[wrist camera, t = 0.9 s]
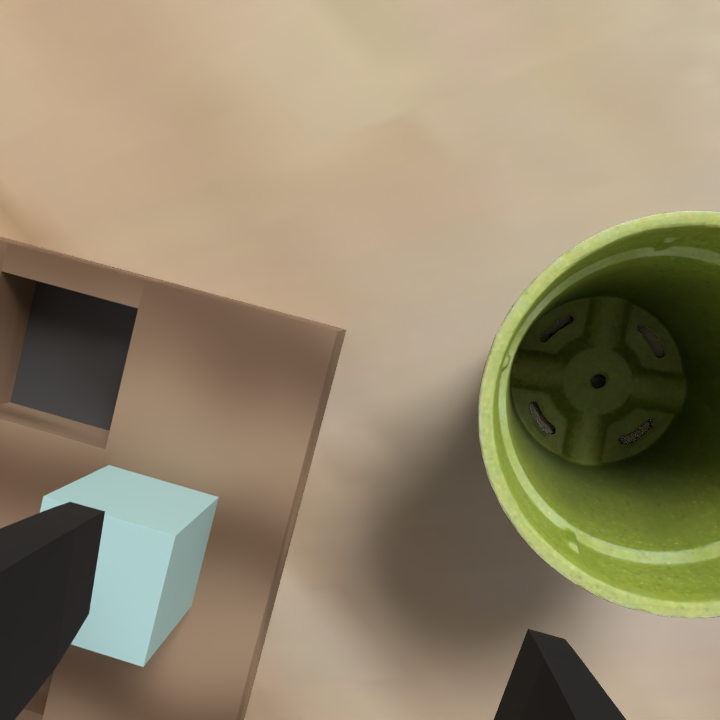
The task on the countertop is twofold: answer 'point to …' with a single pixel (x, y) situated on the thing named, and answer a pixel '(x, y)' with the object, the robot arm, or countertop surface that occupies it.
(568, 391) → the plant pot
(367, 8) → the countertop surface
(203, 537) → the block
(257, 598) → the tray
